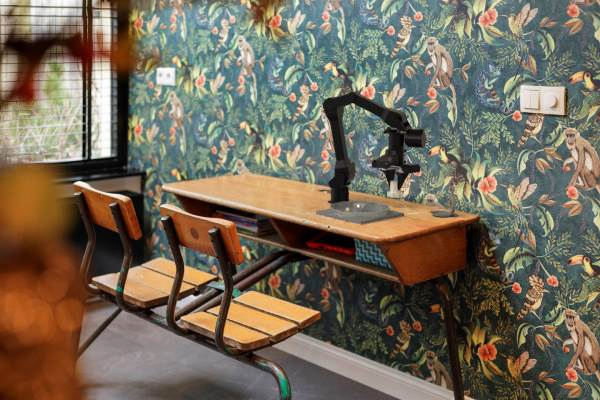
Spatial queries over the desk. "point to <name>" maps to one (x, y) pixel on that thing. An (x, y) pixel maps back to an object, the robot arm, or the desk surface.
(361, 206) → the sun gear
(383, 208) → the grey flat ring
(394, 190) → the gear
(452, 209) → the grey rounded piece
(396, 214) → the tray
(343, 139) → the robot arm
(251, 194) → the desk surface
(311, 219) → the desk surface
